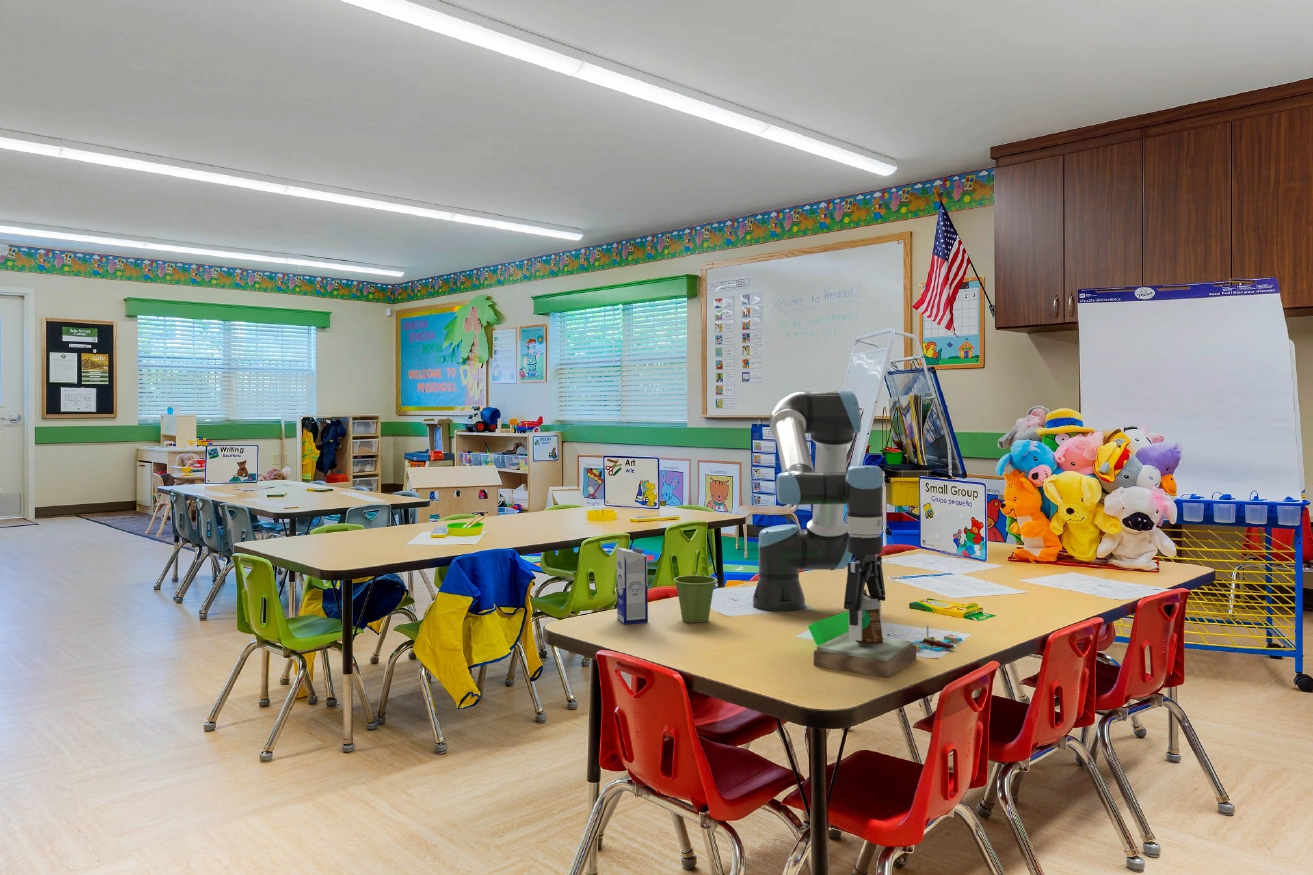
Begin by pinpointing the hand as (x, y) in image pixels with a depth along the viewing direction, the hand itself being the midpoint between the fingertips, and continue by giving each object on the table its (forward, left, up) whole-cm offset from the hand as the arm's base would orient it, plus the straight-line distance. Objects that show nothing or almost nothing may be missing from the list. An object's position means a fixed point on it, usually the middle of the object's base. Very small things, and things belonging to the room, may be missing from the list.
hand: (865, 634), depth 191 cm
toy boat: (+8, +22, -7) cm, 24 cm away
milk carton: (-68, +3, -6) cm, 68 cm away
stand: (0, 0, -6) cm, 6 cm away
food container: (0, 0, -2) cm, 2 cm away
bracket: (-14, +11, -7) cm, 19 cm away
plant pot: (-54, +13, -6) cm, 56 cm away
